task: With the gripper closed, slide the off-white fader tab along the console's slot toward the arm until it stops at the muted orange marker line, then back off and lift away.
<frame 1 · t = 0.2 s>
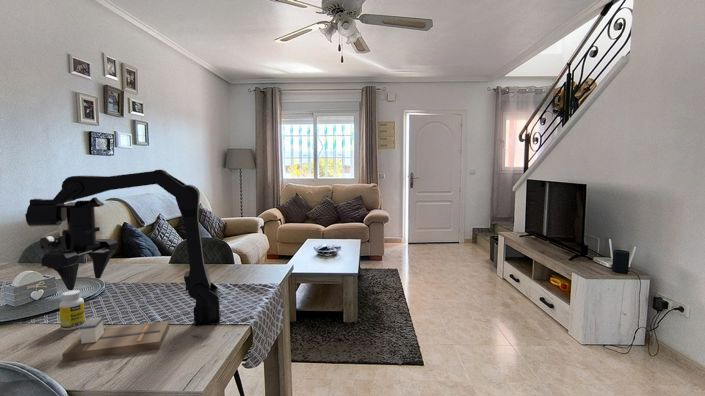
hand: (84, 283, 93), 14 cm above the table, tool pointing down, fingers open, 9 cm apart
fader tab: (92, 329, 88), point 4 cm above the table, slide at 6.0 cm
fader console: (121, 343, 91), on the table
supplement bottle: (73, 327, 100), on the table
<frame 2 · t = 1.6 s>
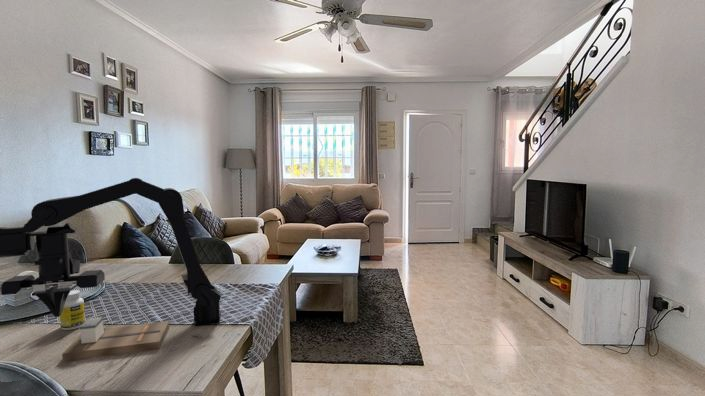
hand: (58, 316, 86), 9 cm above the table, tool pointing down, fingers closed
nothing on the table moved.
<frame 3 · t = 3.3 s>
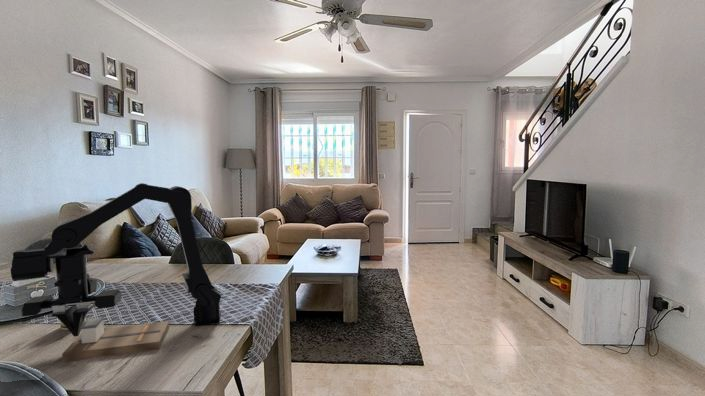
hand: (76, 335, 88), 3 cm above the table, tool pointing down, fingers closed
fader tab: (92, 329, 89), point 4 cm above the table, slide at 5.9 cm, touching gripper
everything else where it was.
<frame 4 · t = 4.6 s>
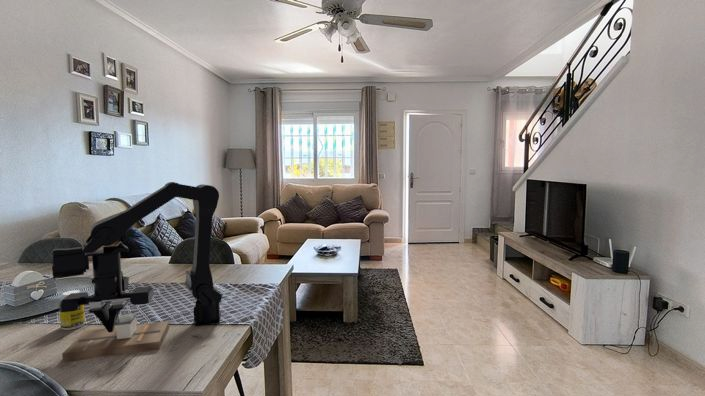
hand: (111, 331, 90), 3 cm above the table, tool pointing down, fingers closed
fader tab: (126, 326, 91), point 4 cm above the table, slide at -1.5 cm, touching gripper
everything else where it was.
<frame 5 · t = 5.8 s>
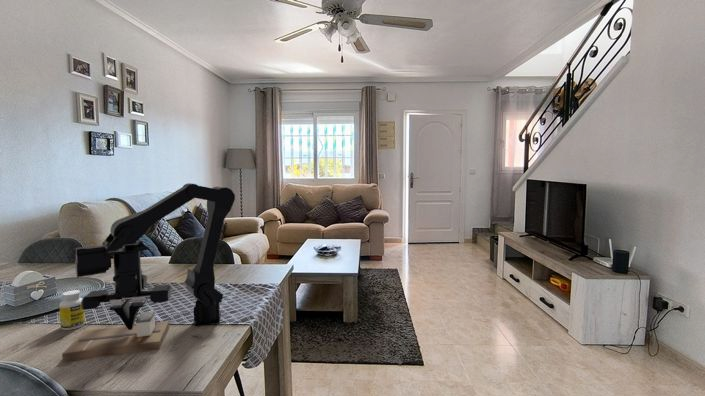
hand: (130, 329, 91), 3 cm above the table, tool pointing down, fingers closed
fader tab: (145, 323, 92), point 4 cm above the table, slide at -5.8 cm, touching gripper
everything else where it was.
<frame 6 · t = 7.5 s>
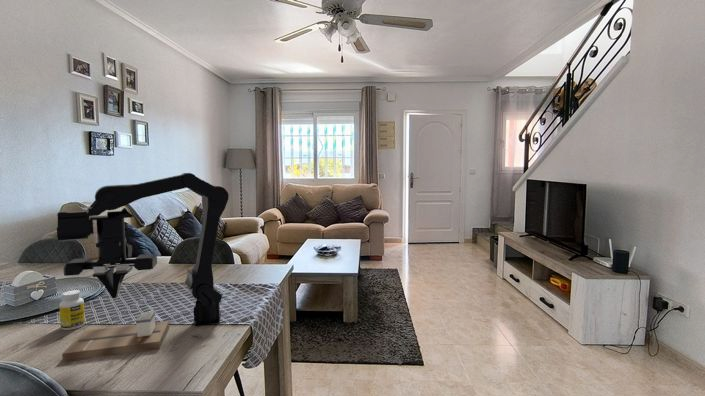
hand: (114, 297, 90), 12 cm above the table, tool pointing down, fingers closed
fader tab: (146, 323, 92), point 4 cm above the table, slide at -5.9 cm
everything else where it was.
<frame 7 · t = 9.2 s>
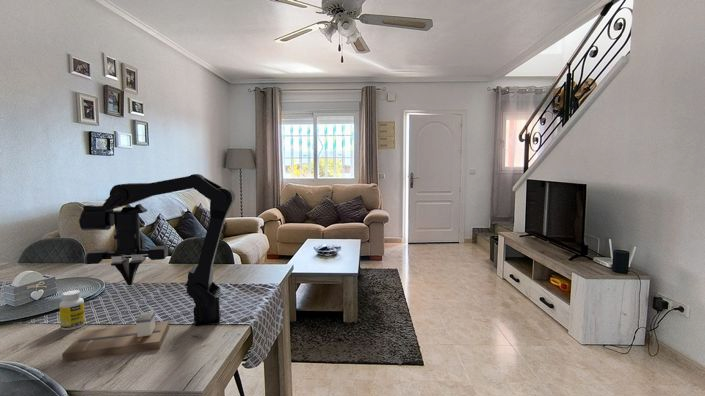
hand: (130, 284, 99), 12 cm above the table, tool pointing down, fingers closed
nothing on the table moved.
at the end: fader tab slide at -5.9 cm; supplement bottle moved 0.2 cm from its start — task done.
